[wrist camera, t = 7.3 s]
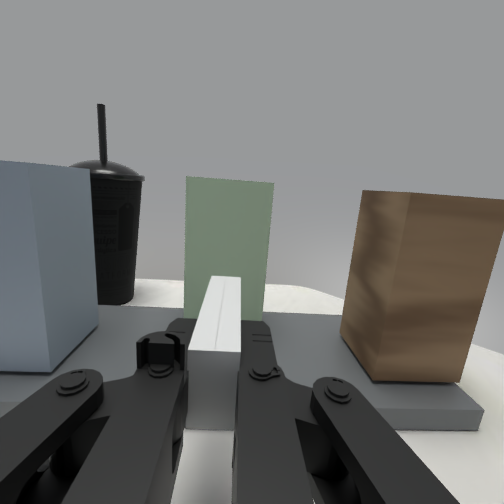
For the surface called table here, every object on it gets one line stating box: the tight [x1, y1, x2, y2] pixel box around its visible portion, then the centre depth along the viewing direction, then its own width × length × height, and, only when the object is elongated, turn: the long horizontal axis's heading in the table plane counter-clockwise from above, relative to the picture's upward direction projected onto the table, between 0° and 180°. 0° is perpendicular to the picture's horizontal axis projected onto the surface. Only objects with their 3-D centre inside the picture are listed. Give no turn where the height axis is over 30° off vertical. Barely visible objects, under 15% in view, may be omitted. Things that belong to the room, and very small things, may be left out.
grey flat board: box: [0, 305, 484, 431], centre depth 21 cm, size 12×32×2 cm, turn 93°
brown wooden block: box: [339, 190, 504, 383], centre depth 20 cm, size 6×6×12 cm
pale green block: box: [184, 176, 274, 321], centre depth 23 cm, size 6×6×12 cm
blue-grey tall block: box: [0, 161, 99, 372], centre depth 18 cm, size 6×6×12 cm
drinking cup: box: [69, 104, 145, 306], centre depth 29 cm, size 8×8×20 cm
